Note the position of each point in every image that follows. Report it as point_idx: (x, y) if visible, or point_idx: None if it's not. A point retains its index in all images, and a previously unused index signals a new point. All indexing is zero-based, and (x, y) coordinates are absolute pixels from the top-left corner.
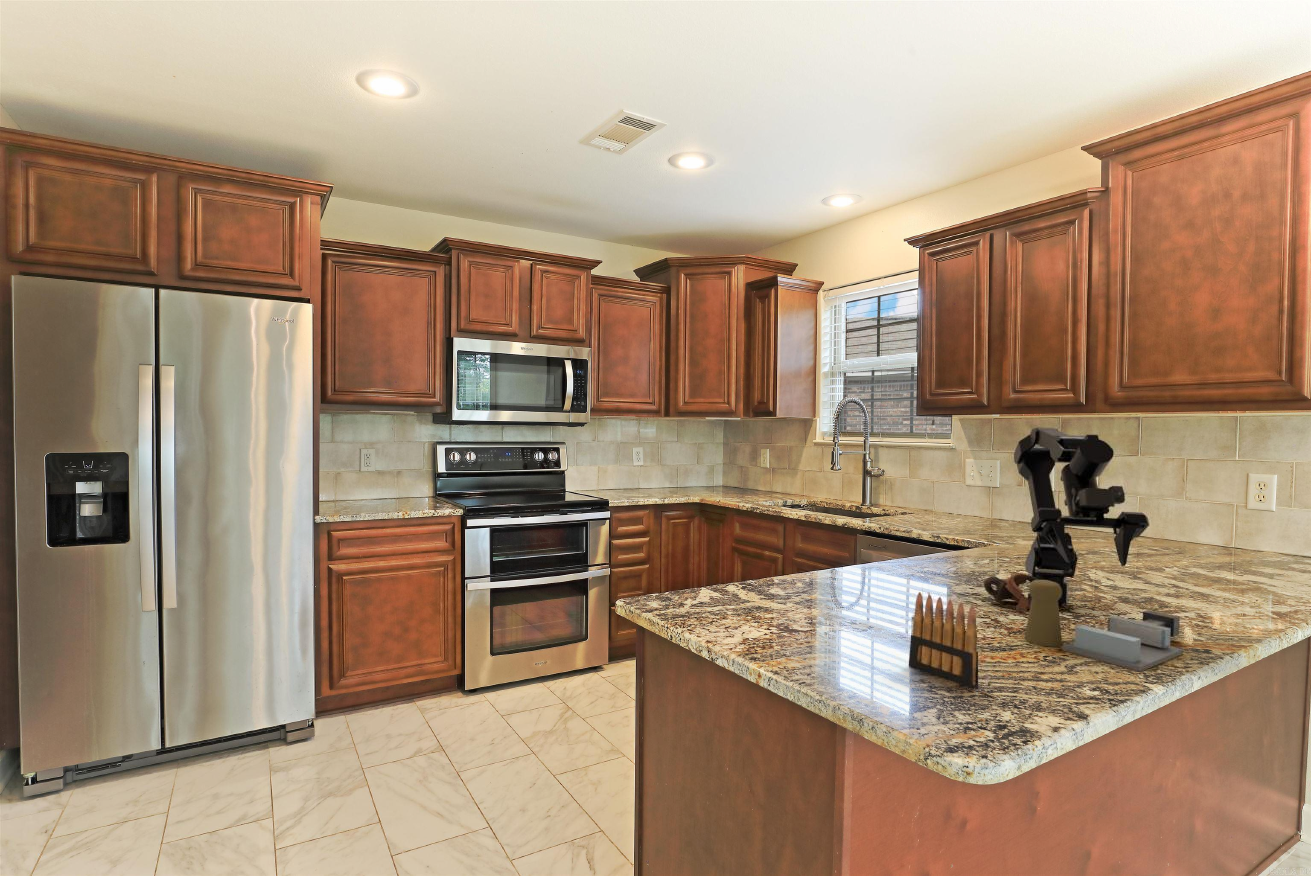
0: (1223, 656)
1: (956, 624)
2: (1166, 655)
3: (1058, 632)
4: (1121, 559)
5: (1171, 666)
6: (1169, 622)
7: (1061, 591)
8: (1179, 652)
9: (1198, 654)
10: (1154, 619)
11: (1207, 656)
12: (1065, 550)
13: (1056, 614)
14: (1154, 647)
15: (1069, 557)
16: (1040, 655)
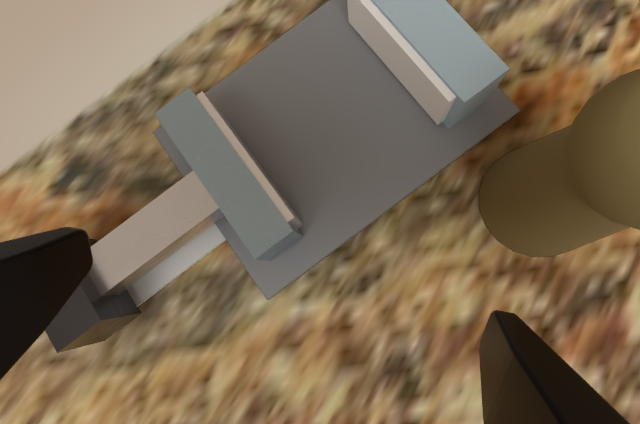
0: (60, 134)
1: None
2: (242, 67)
3: (523, 146)
4: (52, 275)
5: (267, 28)
6: None
7: (593, 98)
8: None
9: (116, 141)
10: (95, 284)
11: (104, 127)
12: (572, 380)
13: (561, 129)
14: None
15: (512, 321)
16: (611, 55)
